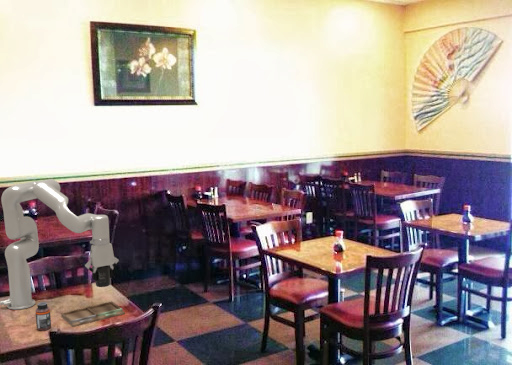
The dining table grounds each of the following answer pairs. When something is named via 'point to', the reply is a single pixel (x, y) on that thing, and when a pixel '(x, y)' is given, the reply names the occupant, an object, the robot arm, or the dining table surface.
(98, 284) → the supplement bottle
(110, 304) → the socket board
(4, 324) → the dining table surface
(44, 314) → the supplement bottle
